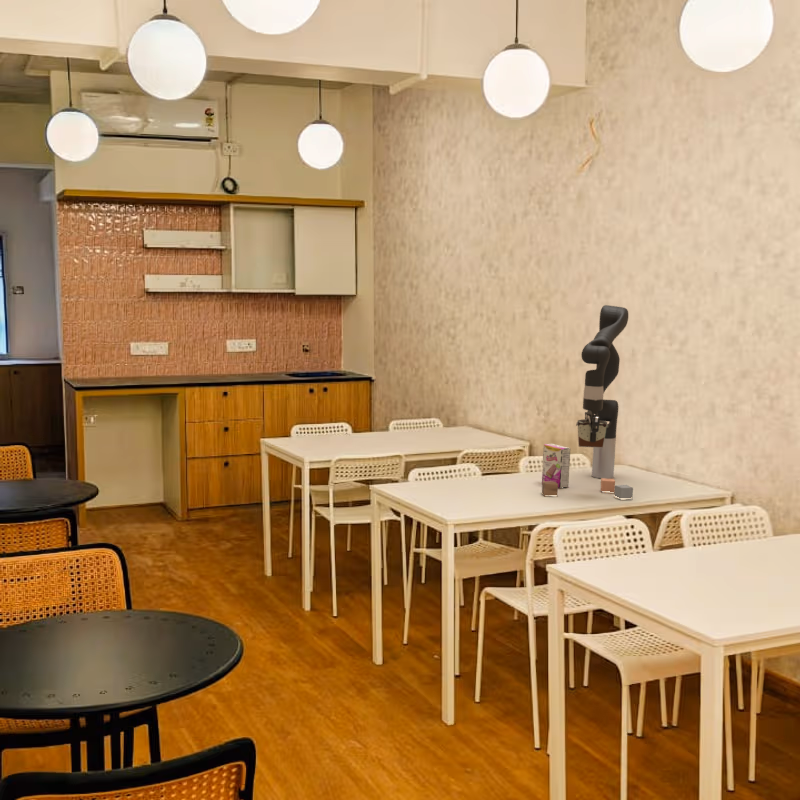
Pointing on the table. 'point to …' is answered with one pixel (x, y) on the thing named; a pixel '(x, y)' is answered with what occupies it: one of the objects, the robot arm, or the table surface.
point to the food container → (585, 434)
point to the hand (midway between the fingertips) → (590, 440)
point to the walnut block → (549, 488)
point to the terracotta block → (607, 484)
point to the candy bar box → (556, 464)
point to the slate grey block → (623, 491)
